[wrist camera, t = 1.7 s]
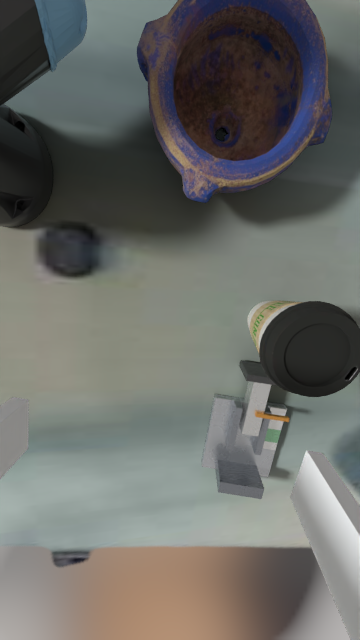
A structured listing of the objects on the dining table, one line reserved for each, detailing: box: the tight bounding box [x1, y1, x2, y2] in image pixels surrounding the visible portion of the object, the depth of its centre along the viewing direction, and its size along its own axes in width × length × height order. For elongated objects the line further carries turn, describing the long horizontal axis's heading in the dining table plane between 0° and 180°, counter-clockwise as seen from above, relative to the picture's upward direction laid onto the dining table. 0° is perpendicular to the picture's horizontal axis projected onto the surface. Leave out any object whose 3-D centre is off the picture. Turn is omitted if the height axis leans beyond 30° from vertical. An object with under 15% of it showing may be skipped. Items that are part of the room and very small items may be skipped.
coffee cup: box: [248, 301, 360, 397], centre depth 29 cm, size 10×10×15 cm
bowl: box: [137, 0, 332, 203], centre depth 26 cm, size 18×18×10 cm
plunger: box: [239, 360, 289, 436], centre depth 36 cm, size 11×8×5 cm
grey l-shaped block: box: [201, 394, 287, 499], centre depth 38 cm, size 14×12×6 cm
